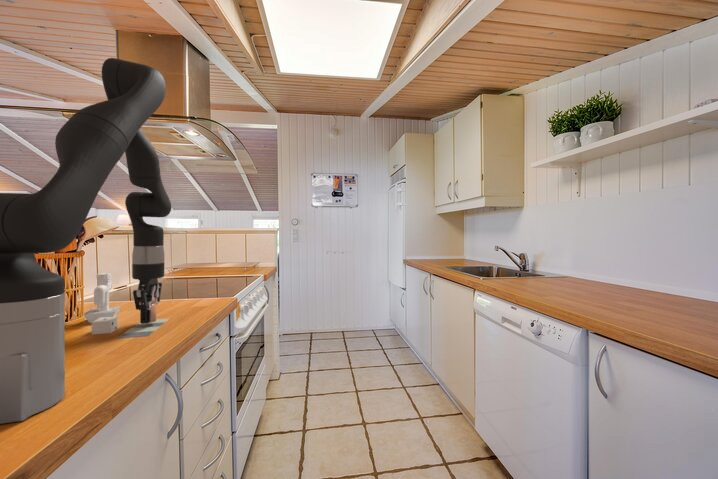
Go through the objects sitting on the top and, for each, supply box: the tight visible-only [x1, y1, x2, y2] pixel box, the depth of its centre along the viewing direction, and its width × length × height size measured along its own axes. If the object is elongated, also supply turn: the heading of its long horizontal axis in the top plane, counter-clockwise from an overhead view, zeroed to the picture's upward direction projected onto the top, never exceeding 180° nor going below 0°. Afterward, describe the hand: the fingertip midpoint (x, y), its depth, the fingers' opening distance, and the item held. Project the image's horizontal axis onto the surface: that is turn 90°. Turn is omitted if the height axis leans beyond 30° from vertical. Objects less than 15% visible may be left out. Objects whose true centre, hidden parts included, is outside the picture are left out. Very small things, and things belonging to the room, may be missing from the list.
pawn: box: [143, 297, 157, 323], centre depth 82 cm, size 4×4×8 cm
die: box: [91, 316, 119, 335], centre depth 77 cm, size 4×4×4 cm
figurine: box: [83, 272, 122, 325], centre depth 87 cm, size 7×9×15 cm
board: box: [115, 318, 170, 340], centre depth 81 cm, size 16×7×1 cm, turn 17°
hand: (148, 320), depth 83 cm, fingers closed on pawn, 3 cm apart
